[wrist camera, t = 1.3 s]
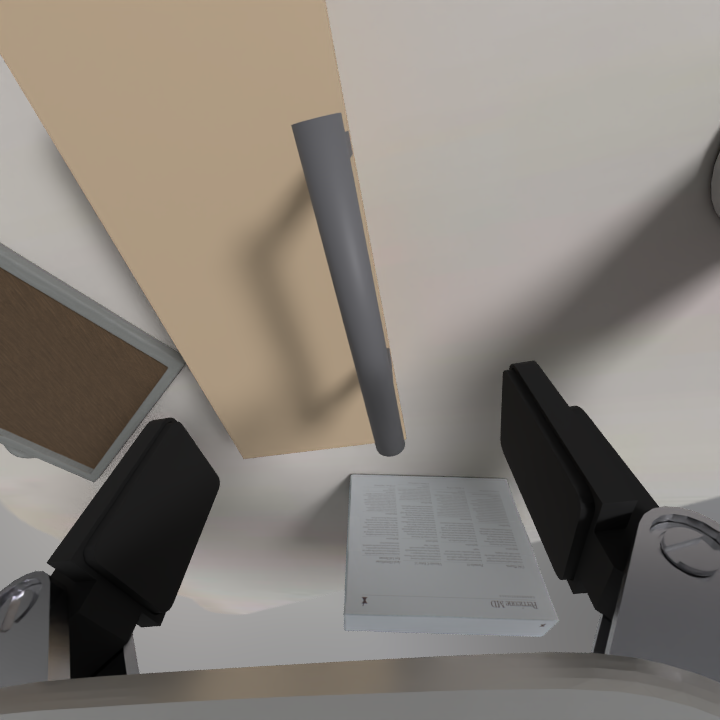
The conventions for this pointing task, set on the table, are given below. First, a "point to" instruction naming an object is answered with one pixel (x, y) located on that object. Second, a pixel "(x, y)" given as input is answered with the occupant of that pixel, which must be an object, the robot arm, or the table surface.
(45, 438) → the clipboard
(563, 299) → the table surface
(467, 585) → the skincare box
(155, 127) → the lid
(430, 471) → the table surface
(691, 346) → the table surface
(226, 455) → the table surface
